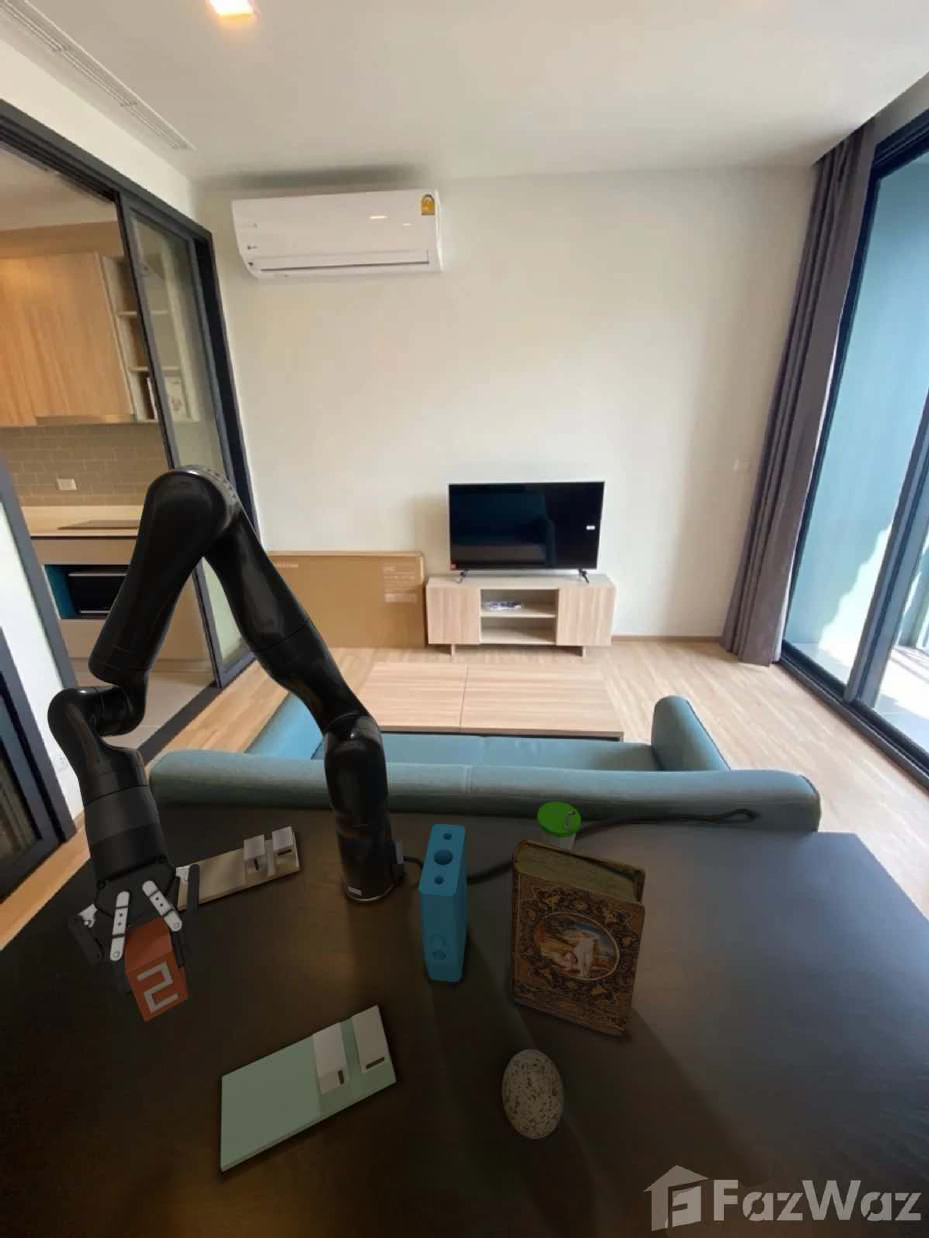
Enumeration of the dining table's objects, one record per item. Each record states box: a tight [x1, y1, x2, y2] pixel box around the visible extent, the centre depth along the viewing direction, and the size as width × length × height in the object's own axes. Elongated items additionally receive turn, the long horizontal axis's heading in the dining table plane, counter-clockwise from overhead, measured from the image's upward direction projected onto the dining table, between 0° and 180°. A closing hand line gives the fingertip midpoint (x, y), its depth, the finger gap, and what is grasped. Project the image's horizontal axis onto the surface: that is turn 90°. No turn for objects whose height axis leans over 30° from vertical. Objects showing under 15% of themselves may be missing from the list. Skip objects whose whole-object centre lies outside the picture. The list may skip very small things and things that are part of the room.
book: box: [508, 839, 646, 1038], centre depth 66 cm, size 16×6×25 cm, turn 71°
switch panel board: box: [220, 1004, 397, 1172], centre depth 62 cm, size 20×9×4 cm, turn 113°
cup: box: [536, 800, 582, 850], centre depth 91 cm, size 8×8×15 cm
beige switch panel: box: [176, 825, 301, 912], centre depth 92 cm, size 20×9×4 cm, turn 113°
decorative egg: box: [501, 1048, 565, 1140], centre depth 58 cm, size 7×7×10 cm
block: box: [418, 823, 468, 983], centre depth 74 cm, size 12×5×20 cm, turn 173°
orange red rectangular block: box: [124, 915, 189, 1023], centre depth 59 cm, size 4×6×8 cm
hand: (157, 977), depth 57 cm, fingers closed on orange red rectangular block, 4 cm apart
